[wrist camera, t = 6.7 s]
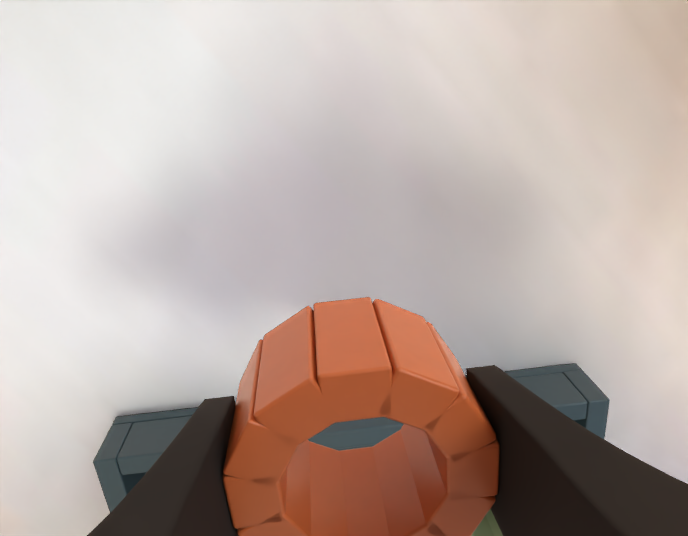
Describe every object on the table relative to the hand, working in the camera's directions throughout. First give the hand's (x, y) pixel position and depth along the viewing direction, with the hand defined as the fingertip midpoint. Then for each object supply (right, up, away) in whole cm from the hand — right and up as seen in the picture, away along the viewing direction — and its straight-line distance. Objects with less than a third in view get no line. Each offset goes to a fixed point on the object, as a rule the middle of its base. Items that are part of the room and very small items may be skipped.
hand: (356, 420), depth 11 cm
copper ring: (0, 0, +1) cm, 1 cm away
